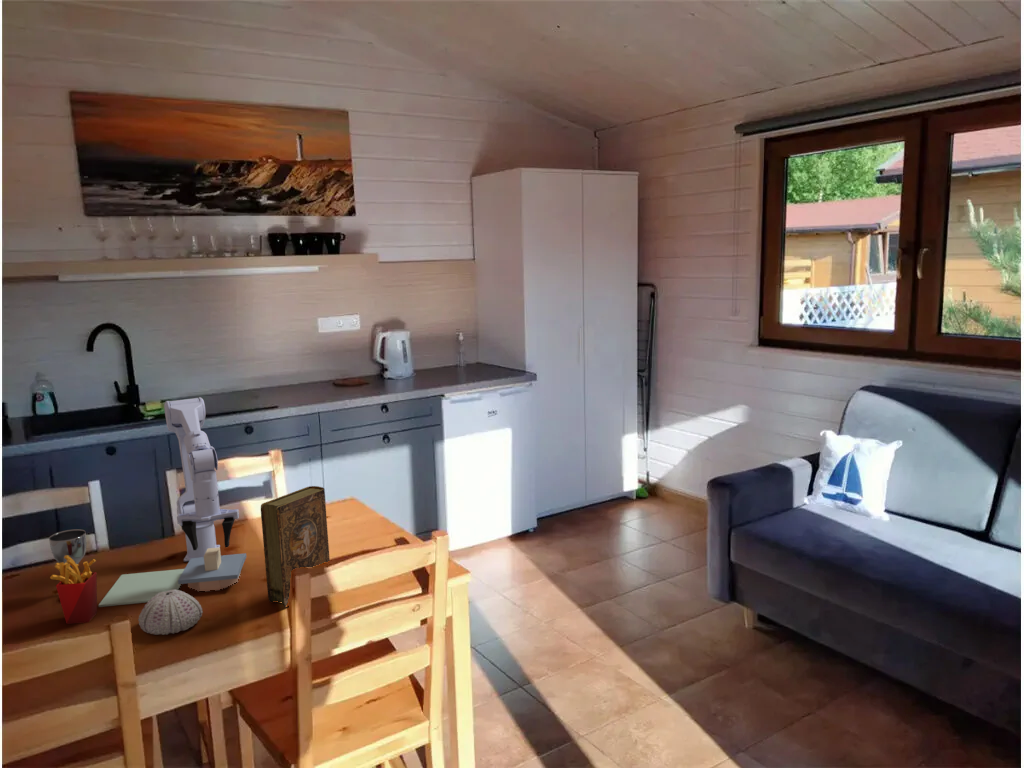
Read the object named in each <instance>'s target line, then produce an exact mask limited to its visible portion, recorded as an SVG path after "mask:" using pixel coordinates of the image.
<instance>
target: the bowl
mask: <svg viewBox="0 0 1024 768" xmlns="http://www.w3.org/2000/svg"><path fill="white" fill-rule="evenodd" d="M240 574H241V572H240ZM240 574H239V576H240V577H241V575H240ZM238 579H239V580H240V578H239V577H238V578H237V579H227V580H217V581H206V582H196V583H187V588H188V587H190V588H189V589H191V588H192V589H191V590H193V589H195V590H194V591H196V590H197V592H199V591H205V592H211V591H210V590H215V591H221V590H220V589H222V590H223V588H224V589H226V588H228V586H229V587H231V586H233V585H235V584H234V583H236V582H237V583H238V582H239V581H238ZM237 583H236V584H237ZM232 584H233V585H232ZM230 585H231V586H230Z"/></svg>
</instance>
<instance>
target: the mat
mask: <svg viewBox="0 0 1024 768" xmlns="http://www.w3.org/2000/svg"><path fill="white" fill-rule="evenodd" d="M184 569H185V568H177V569H168V570H166V569H165V570H157V571H147V572H137V573H128V574H127V573H125V574H121V575H120V576H119V578H118V579H117V580H116V581H115V583H114V584H113V585H112V587H111V588H110V589H109V591H108V592H107V593H106V594H105V596H104V597H103V599H102V600H101V601H100V602H99V604H97V607H98V608H103V607H104V608H105V607H113V606H123V605H133V604H142V603H143V604H144V603H148V601H149V600H151V598H152V597H154V596H155V595H156V594H158V593H160V592H166V591H169V590H173V589H176V590H179V591H180V589H181V587H182V585H181V584H178V580H179V578H180V576H181V574H182V573H183V571H184ZM180 586H181V587H180ZM179 588H180V589H179Z"/></svg>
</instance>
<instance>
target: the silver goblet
mask: <svg viewBox="0 0 1024 768" xmlns="http://www.w3.org/2000/svg"><path fill="white" fill-rule="evenodd" d="M86 534H87V533H86V530H84V529H80V528H79V529H77V528H75V529H67V530H62V531H58V532H55V533H54V534H52V535H50V536H49V537H48V539H49V546H50V551H51V553H52V556H53V558H54V560H56V562H57V563H61V562H63V563H65V562H66V561H67V560H66V559H65V558H64V557H65V555H68V556H69V557H71V558H72V559H73V560H74V561H75V563H76V564H78V565H79V563H80V562H81V560H83V558H84V556H85V555H86V551H87V535H86ZM66 563H67V562H66ZM68 564H69V563H68ZM70 567H71V568H72V566H71V565H70ZM72 569H73V568H72Z"/></svg>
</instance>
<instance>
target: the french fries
mask: <svg viewBox="0 0 1024 768" xmlns="http://www.w3.org/2000/svg"><path fill="white" fill-rule="evenodd" d="M64 558H65V559H66V560H67V561H66V562H67V563H66V562H65V563H63V562H61V563H59V562H56V563H55V564H54V568H55V569H57V570H58V571H59V575H57V574H52V575H51V576H49V578H50V579H51V580H56V581H59V582H58V583H57V584H56V585H55V588H56V590H57V595H58V598H59V601H60V605H61V609H62V613H63V616H64V620H65V623H66V625H72V624H81V623H82V624H84V623H85V624H86V623H89V622H90V621H91V620H92V619H93V618H94V617H95V616H96V614H97V613H98V590H97V589H98V585H97V584H98V581H97V580H98V579H97V578H98V577H97V572H96V571H93V572H92V570H91V568H90V567H91V566H92V565H93V564H94V563H96V562H97V560H96V559H95V558H93V559H92V560H90V561H89V562H88V560H87V561H84V562H83V563H82V564H83V565H82V566H83V567H84V568H83V570H82V572H81V571H80V569H79V566H80V565H79V563H78V564H76V563H75V561H74V560H73V559H72V558H71V557H69V556H68V555H65V557H64ZM68 563H69V564H68ZM70 565H71V566H72V568H73V569H72V568H71V567H70Z"/></svg>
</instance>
